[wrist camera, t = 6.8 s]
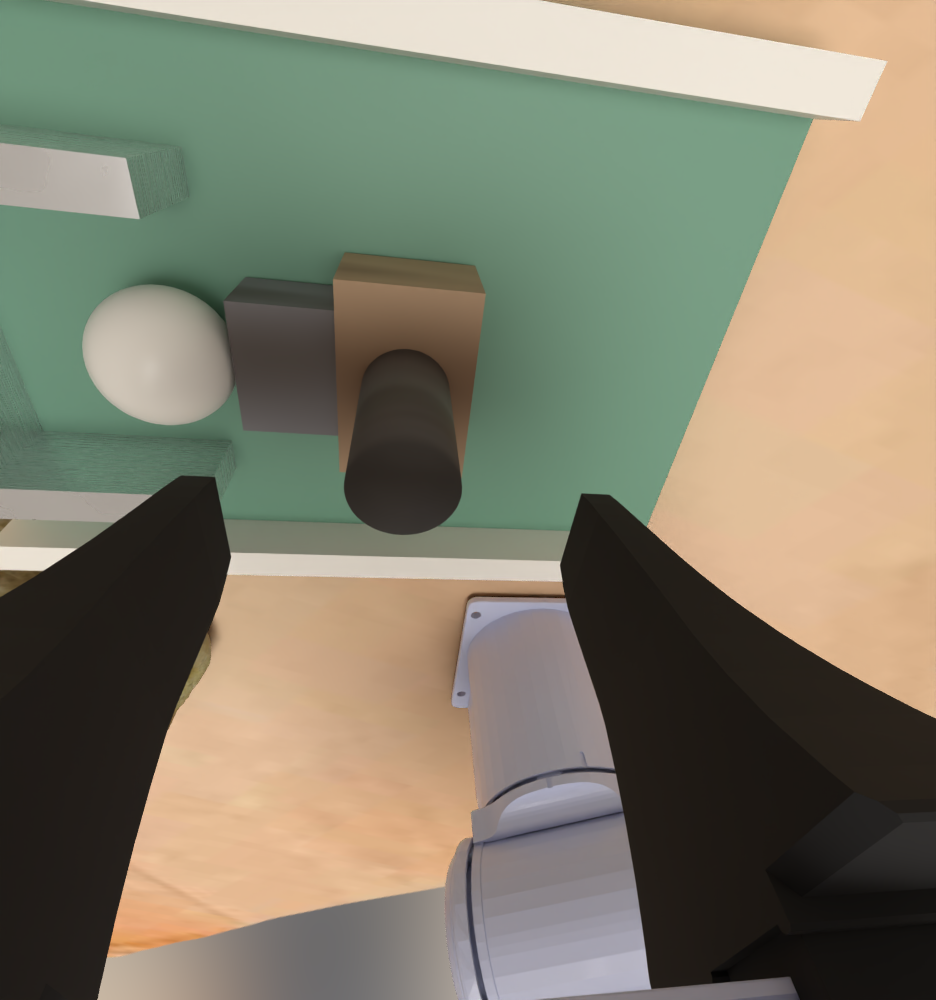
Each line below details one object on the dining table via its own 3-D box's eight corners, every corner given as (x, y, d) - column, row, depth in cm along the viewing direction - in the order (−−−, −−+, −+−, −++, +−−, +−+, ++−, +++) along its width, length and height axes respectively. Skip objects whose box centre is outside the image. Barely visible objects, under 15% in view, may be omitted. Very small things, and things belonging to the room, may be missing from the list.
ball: (143, 466, 15) (83, 411, 17) (271, 422, 17) (207, 379, 19) (100, 321, 12) (36, 276, 14) (256, 297, 15) (184, 262, 17)
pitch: (629, 538, 26) (651, 583, 24) (44, 519, 22) (0, 570, 20) (812, 66, 15) (887, 61, 13) (-249, -114, 12) (-416, -167, 9)
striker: (455, 432, 20) (476, 586, 14) (263, 421, 19) (190, 581, 13) (475, 265, 17) (515, 369, 10) (240, 241, 16) (123, 339, 9)
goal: (236, 467, 20) (208, 525, 18) (18, 457, 19) (-47, 517, 17) (181, 146, 14) (125, 158, 12) (-141, 106, 13) (-287, 108, 11)
